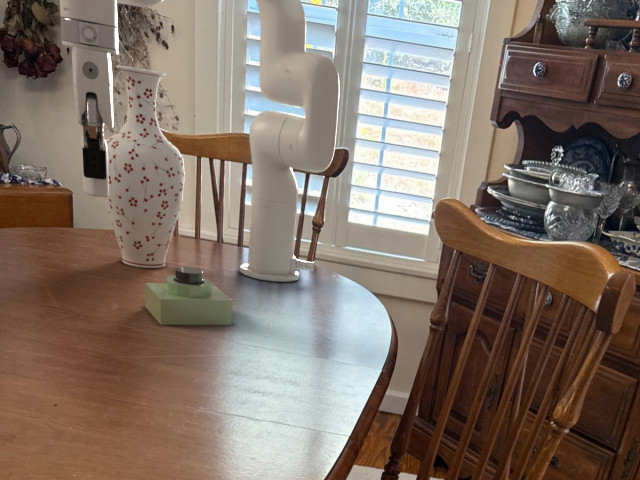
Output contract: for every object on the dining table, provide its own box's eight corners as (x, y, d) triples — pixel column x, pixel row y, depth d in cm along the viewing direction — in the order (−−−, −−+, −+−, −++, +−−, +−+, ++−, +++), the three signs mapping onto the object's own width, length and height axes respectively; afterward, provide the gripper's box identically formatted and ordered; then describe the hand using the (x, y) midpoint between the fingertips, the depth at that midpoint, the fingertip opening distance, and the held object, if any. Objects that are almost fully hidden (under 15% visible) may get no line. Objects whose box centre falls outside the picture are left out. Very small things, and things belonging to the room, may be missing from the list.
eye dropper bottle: (114, 193, 123) (111, 109, 117) (106, 198, 118) (103, 110, 112) (85, 189, 122) (81, 104, 116) (76, 194, 118) (72, 105, 112)
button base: (213, 308, 139) (214, 274, 136) (231, 325, 132) (233, 289, 129) (145, 307, 133) (144, 271, 130) (160, 324, 126) (160, 287, 123)
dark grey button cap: (197, 280, 132) (198, 267, 131) (205, 287, 129) (206, 274, 128) (172, 279, 130) (172, 266, 129) (179, 286, 127) (179, 273, 126)
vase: (172, 277, 154) (173, 75, 136) (90, 264, 153) (81, 59, 135) (192, 261, 168) (195, 77, 150) (117, 250, 167) (112, 62, 149)
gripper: (118, 43, 104) (121, 186, 113) (117, 42, 118) (121, 170, 127) (57, 32, 102) (66, 180, 111) (64, 33, 116) (71, 164, 125)
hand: (95, 173), depth 119 cm, fingers closed on eye dropper bottle, 5 cm apart
